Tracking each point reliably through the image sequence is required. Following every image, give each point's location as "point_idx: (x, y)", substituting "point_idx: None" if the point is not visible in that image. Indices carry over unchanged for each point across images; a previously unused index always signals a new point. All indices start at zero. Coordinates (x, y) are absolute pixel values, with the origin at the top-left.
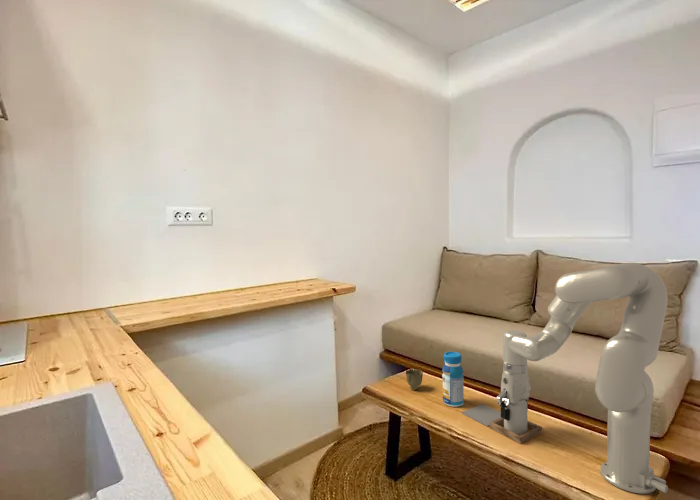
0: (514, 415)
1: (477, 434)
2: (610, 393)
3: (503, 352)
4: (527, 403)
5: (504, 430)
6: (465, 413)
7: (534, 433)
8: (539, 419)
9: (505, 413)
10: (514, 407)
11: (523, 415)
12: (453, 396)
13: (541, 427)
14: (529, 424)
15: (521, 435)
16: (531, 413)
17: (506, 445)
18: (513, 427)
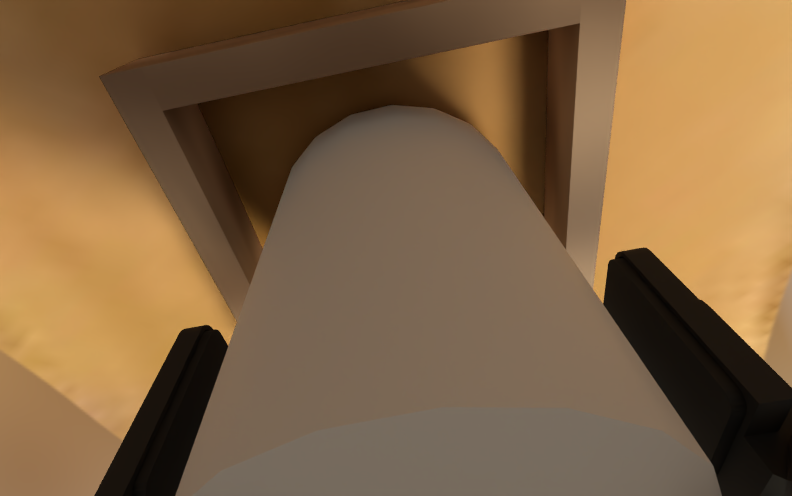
0: (582, 278)
1: (735, 268)
2: None
3: None
4: (116, 466)
5: (601, 198)
6: None
7: (287, 31)
8: (24, 276)
9: (748, 347)
10: (683, 423)
11: (433, 223)
12: None
13: (117, 71)
14: (221, 209)
15: (550, 13)
16: (57, 361)
17: (743, 9)
18: (520, 183)
